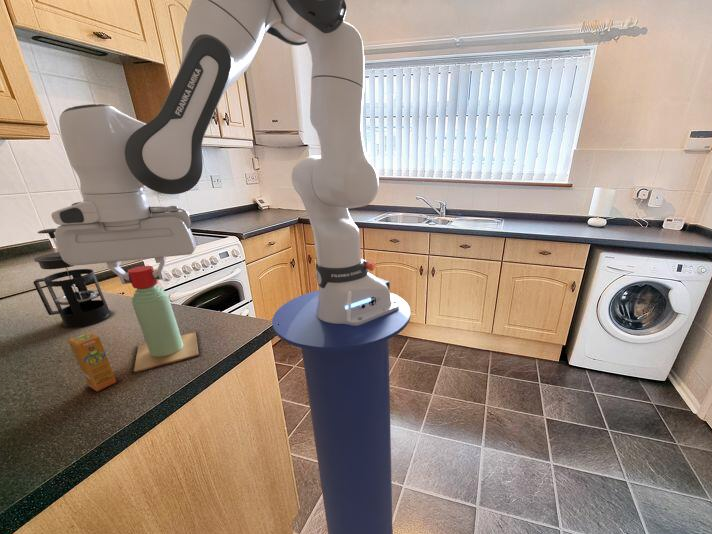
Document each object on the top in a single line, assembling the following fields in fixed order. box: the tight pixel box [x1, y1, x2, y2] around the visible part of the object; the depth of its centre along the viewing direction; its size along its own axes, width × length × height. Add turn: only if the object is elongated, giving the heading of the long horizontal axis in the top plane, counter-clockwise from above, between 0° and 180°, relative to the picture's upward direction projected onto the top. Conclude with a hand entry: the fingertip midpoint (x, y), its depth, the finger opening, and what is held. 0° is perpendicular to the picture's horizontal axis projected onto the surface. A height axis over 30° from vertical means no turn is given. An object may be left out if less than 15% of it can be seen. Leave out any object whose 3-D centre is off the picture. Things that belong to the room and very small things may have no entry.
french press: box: [32, 228, 112, 329], centre depth 81 cm, size 12×9×23 cm
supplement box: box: [67, 331, 117, 392], centre depth 60 cm, size 3×3×10 cm
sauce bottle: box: [131, 284, 183, 357], centre depth 68 cm, size 6×6×18 cm
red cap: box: [127, 265, 159, 289], centre depth 65 cm, size 4×4×3 cm
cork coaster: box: [133, 331, 200, 373], centre depth 72 cm, size 11×11×1 cm
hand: (144, 280), depth 66 cm, fingers closed on red cap, 4 cm apart
